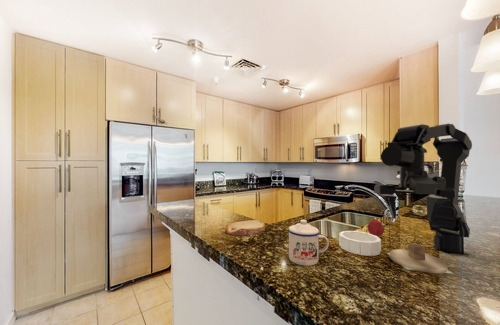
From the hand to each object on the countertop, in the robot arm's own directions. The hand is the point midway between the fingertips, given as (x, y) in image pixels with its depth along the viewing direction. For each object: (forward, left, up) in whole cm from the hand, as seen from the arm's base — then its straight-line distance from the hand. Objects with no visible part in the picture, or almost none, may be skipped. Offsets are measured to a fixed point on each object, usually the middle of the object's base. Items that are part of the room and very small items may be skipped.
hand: (411, 219), depth 61 cm
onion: (+1, -22, -13) cm, 26 cm away
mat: (-1, +1, -13) cm, 13 cm away
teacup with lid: (+30, +5, -13) cm, 33 cm away
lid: (-1, +1, -12) cm, 12 cm away
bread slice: (+54, -22, -13) cm, 60 cm away
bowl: (+12, -7, -13) cm, 19 cm away
